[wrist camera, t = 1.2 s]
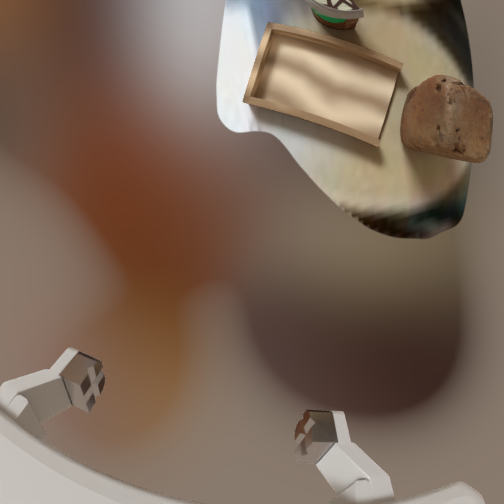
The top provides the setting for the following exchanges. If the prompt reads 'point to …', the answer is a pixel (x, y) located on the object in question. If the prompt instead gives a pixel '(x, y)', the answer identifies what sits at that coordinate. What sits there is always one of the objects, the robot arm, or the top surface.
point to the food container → (336, 13)
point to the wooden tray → (323, 81)
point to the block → (447, 120)
